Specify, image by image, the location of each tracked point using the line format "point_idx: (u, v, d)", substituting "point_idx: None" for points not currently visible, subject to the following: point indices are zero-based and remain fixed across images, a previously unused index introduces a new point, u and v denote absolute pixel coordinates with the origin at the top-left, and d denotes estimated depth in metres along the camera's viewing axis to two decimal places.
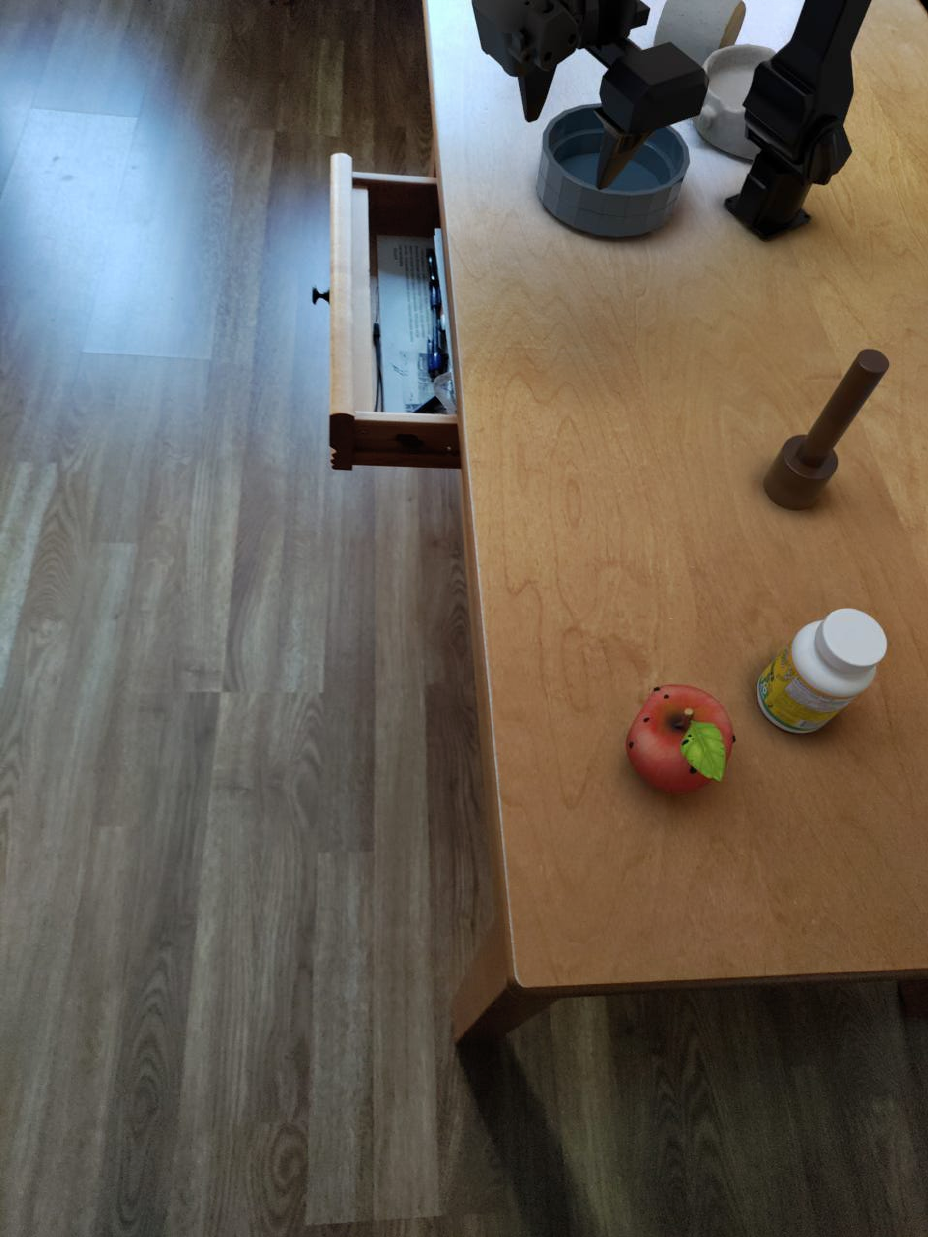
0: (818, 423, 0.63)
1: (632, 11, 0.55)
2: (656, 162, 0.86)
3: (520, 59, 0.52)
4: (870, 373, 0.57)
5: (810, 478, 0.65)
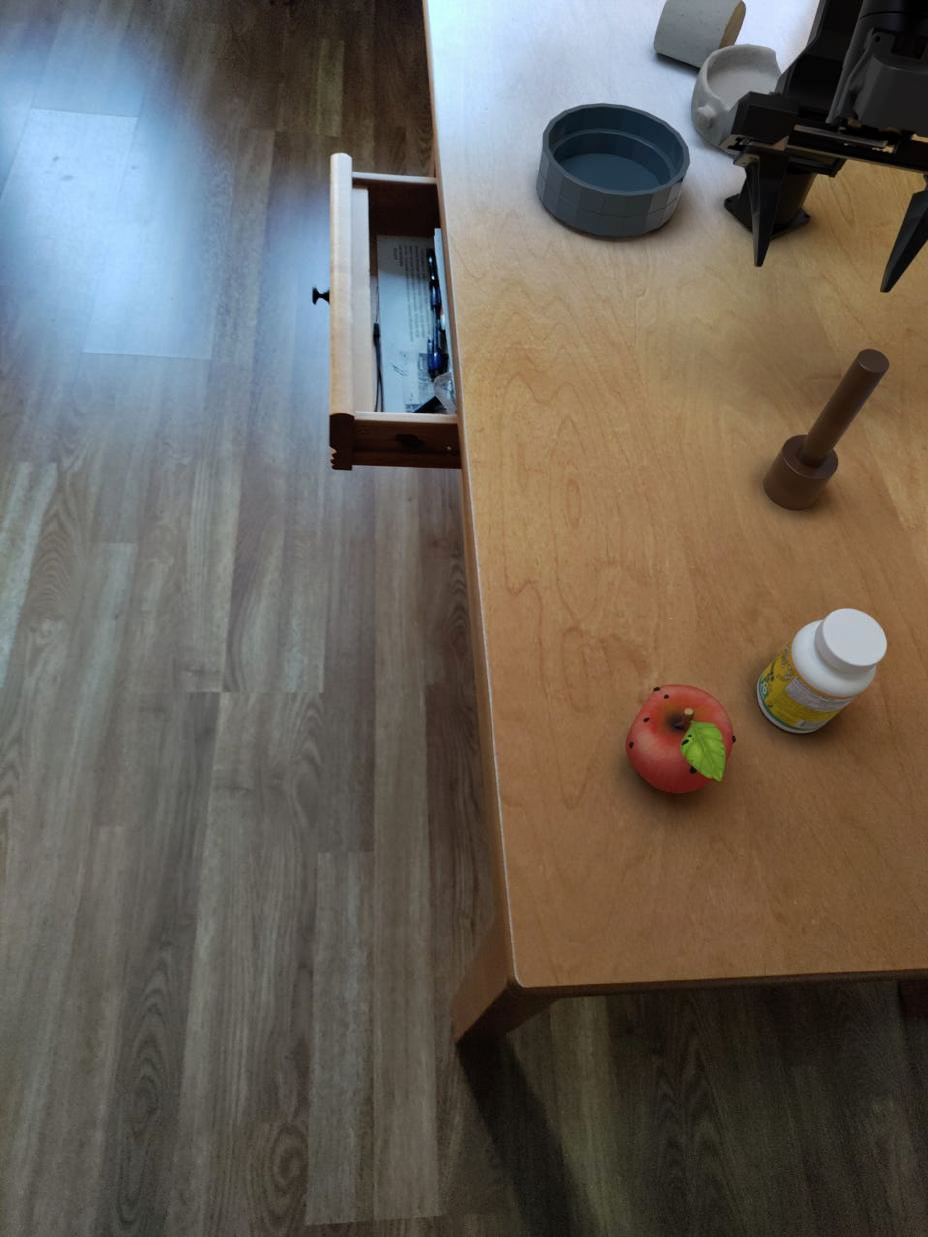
0: (818, 423, 0.63)
1: None
2: (656, 162, 0.86)
3: None
4: (870, 373, 0.57)
5: (810, 478, 0.65)
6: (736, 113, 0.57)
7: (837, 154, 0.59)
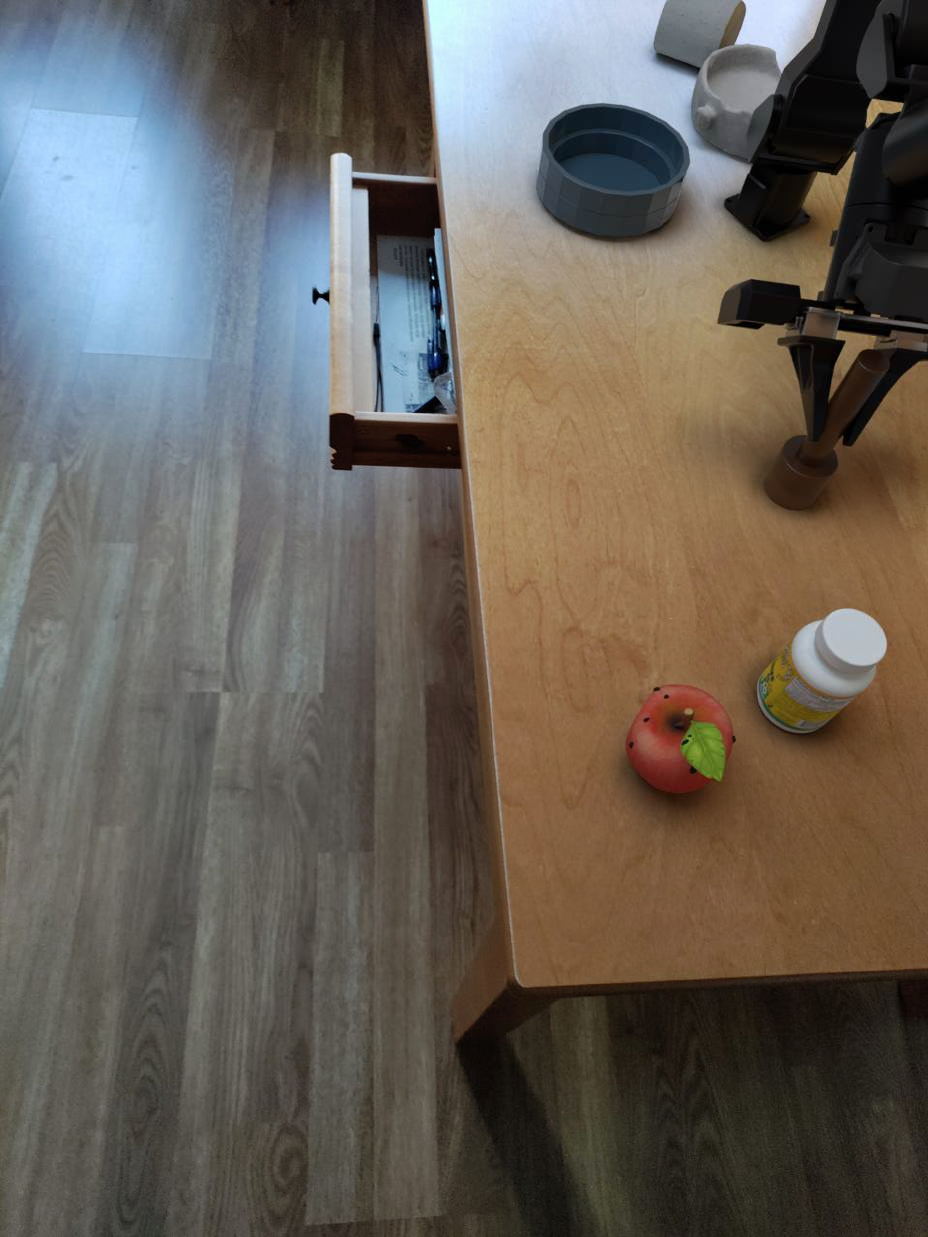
0: None
1: None
2: (656, 162, 0.86)
3: None
4: (870, 373, 0.57)
5: (810, 478, 0.65)
6: (740, 300, 0.58)
7: None
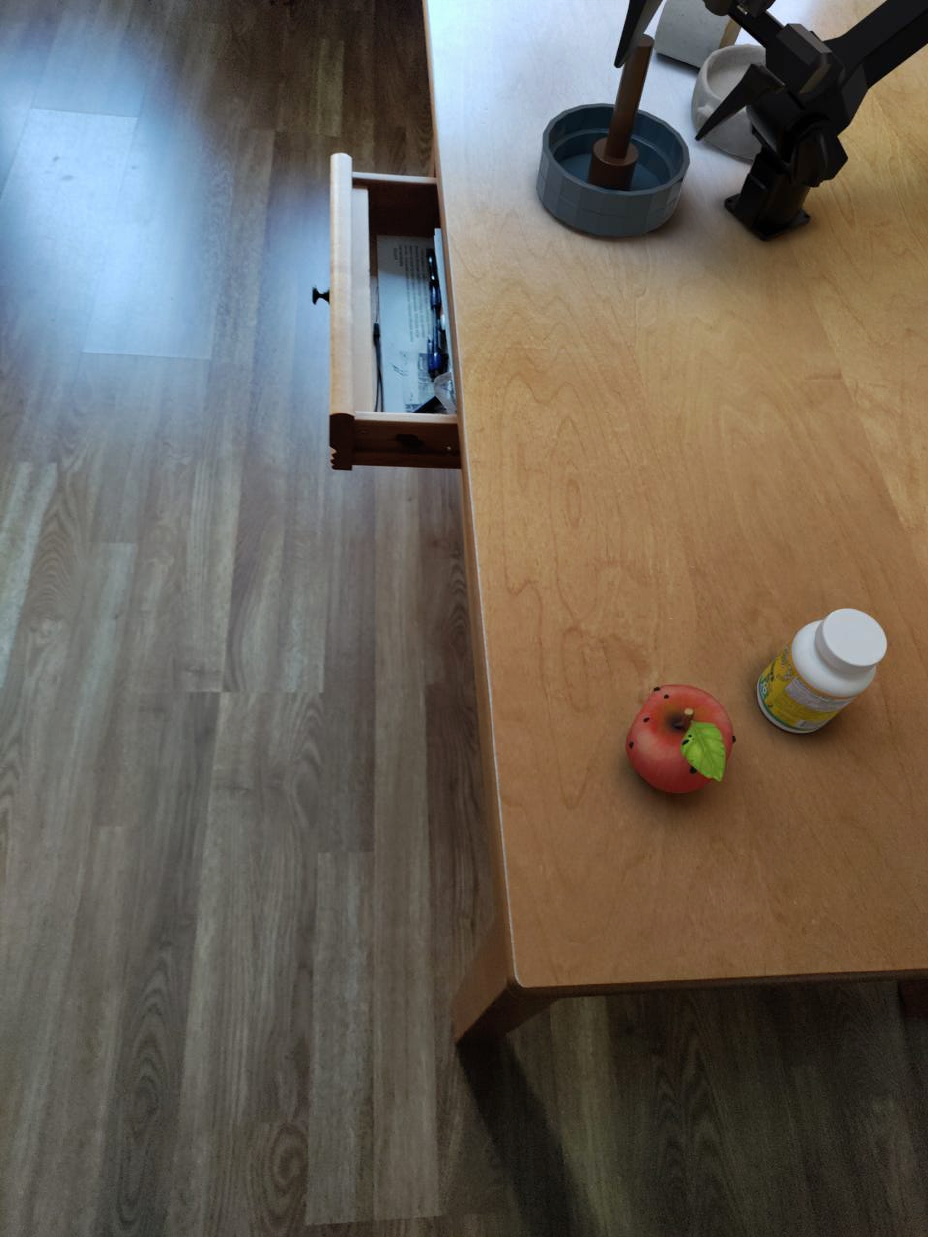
0: None
1: None
2: (656, 162, 0.86)
3: None
4: None
5: (593, 148, 0.83)
6: None
7: None
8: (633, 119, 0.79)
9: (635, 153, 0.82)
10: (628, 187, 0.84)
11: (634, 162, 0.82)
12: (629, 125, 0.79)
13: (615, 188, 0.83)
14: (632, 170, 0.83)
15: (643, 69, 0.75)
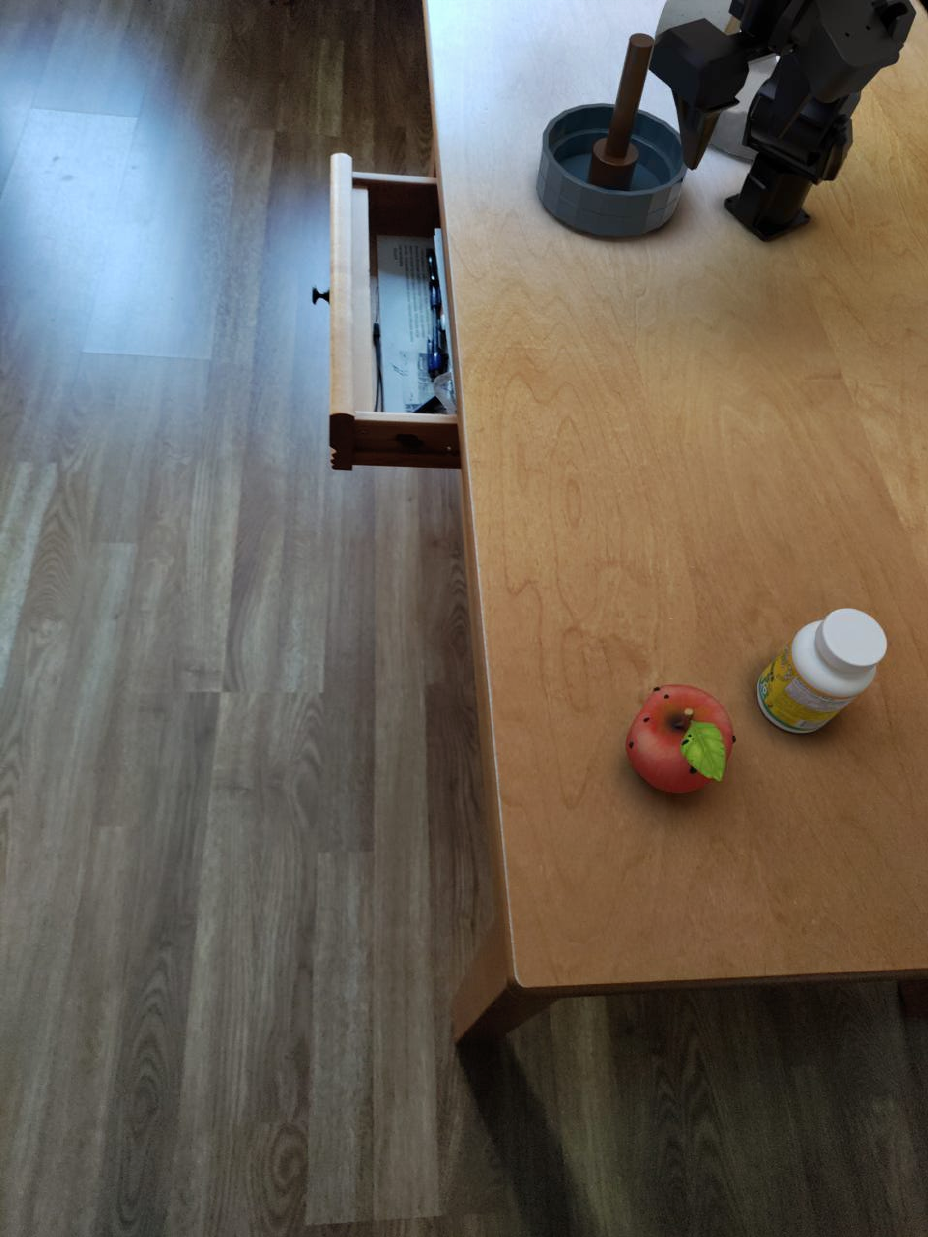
0: None
1: None
2: (656, 162, 0.86)
3: (896, 60, 0.59)
4: (629, 39, 0.74)
5: (593, 148, 0.83)
6: (699, 88, 0.58)
7: None
8: (633, 119, 0.79)
9: (635, 153, 0.82)
10: (628, 187, 0.84)
11: (634, 161, 0.82)
12: (629, 125, 0.79)
13: (615, 188, 0.83)
14: (632, 170, 0.83)
15: (643, 69, 0.75)
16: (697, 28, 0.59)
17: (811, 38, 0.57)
